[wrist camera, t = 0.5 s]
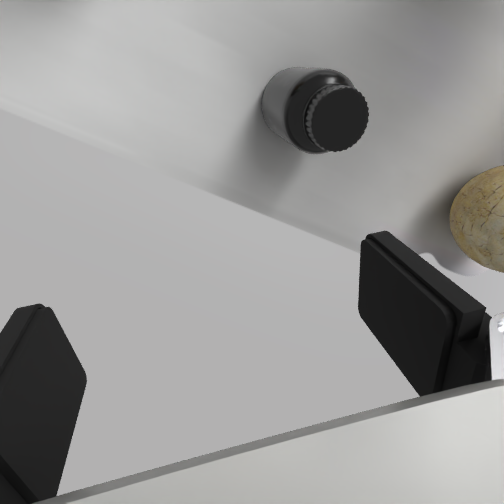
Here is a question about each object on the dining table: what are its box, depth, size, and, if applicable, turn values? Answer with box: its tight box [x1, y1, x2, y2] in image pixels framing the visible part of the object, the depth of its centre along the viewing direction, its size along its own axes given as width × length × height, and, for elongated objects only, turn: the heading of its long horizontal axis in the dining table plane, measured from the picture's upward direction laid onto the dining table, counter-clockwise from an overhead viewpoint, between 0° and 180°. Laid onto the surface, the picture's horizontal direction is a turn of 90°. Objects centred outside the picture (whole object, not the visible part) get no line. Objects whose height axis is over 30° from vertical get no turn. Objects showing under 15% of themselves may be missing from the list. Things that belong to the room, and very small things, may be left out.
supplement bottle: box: [262, 67, 369, 154], centre depth 31 cm, size 7×7×12 cm
